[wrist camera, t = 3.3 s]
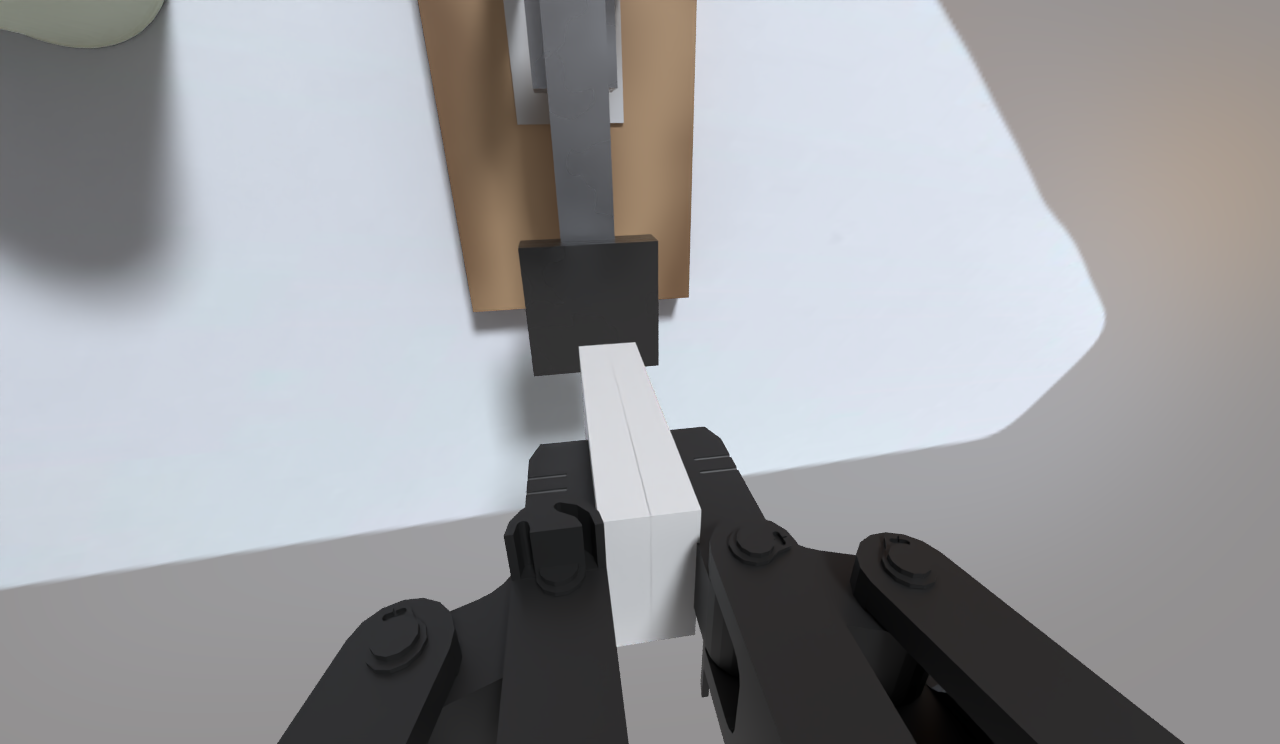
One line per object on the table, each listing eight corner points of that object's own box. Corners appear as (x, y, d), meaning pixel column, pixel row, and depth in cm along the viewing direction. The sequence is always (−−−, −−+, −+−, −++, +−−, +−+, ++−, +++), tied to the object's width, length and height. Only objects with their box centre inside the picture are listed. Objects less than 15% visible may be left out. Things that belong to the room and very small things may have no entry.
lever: (536, 335, 23) (534, 376, 19) (479, -145, 16) (455, -238, 12) (640, 327, 24) (658, 365, 20) (632, -137, 16) (657, -221, 13)
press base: (478, 300, 28) (439, 388, 18) (406, -117, 20) (271, -353, 10) (680, 287, 30) (743, 362, 20) (687, -103, 22) (798, -295, 12)
